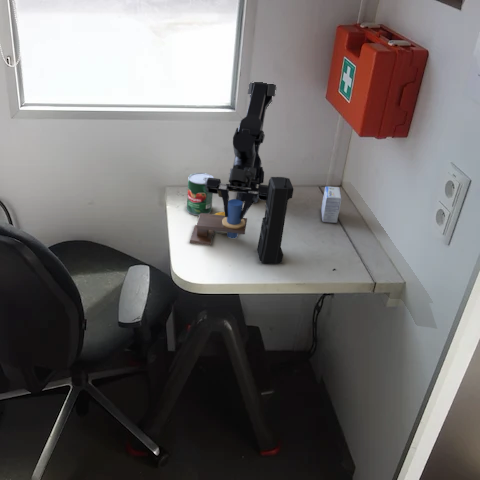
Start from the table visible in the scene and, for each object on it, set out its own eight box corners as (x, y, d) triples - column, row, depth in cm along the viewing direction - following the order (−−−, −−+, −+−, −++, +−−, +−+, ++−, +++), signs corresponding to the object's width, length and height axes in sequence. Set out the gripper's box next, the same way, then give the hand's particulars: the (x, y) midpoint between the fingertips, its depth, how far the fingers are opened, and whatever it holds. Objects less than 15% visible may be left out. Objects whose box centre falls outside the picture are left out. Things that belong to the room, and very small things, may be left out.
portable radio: (255, 248, 151) (266, 166, 138) (277, 249, 151) (289, 166, 138) (259, 264, 145) (270, 179, 132) (281, 264, 145) (295, 179, 131)
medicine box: (336, 223, 164) (342, 198, 160) (321, 222, 165) (326, 196, 160) (334, 211, 171) (340, 187, 166) (320, 210, 171) (325, 185, 167)
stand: (194, 227, 161) (195, 211, 158) (245, 233, 158) (247, 217, 155) (189, 242, 153) (190, 225, 150) (242, 249, 151) (244, 232, 148)
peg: (232, 227, 158) (235, 195, 153) (248, 236, 154) (252, 203, 148) (216, 234, 155) (219, 201, 149) (232, 244, 150) (235, 210, 145)
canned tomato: (185, 214, 168) (186, 182, 162) (188, 202, 174) (189, 171, 169) (210, 216, 167) (212, 184, 161) (212, 205, 173) (215, 173, 168)
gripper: (208, 150, 148) (197, 204, 144) (276, 159, 143) (267, 214, 140) (212, 166, 158) (201, 216, 155) (276, 174, 154) (267, 226, 151)
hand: (233, 218), depth 150 cm, fingers closed on peg, 4 cm apart
